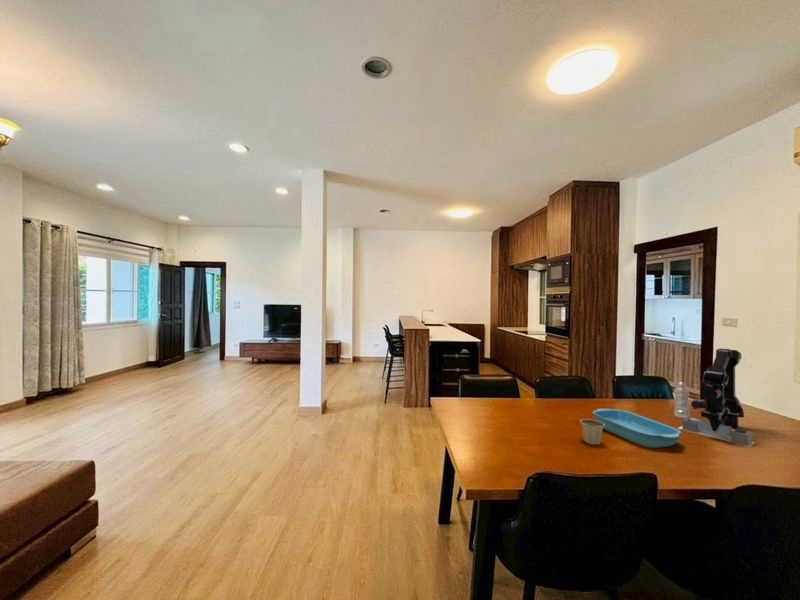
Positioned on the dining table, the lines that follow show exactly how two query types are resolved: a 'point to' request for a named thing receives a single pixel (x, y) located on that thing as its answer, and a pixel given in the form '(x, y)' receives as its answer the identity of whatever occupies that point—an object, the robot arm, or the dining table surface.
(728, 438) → the board
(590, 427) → the flower pot
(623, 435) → the casserole dish
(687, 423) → the cap fixed
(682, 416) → the plastic bottle
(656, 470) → the dining table surface
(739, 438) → the cap sliding
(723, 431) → the slat
